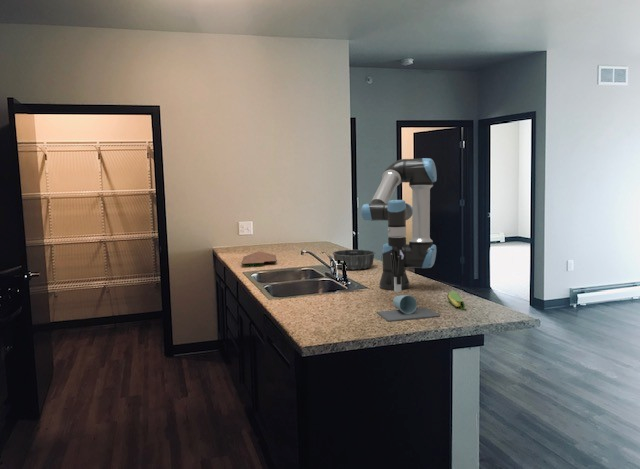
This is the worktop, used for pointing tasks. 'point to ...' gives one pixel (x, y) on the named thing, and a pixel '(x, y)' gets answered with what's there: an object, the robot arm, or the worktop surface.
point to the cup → (405, 303)
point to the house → (258, 258)
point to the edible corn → (456, 300)
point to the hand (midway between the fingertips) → (397, 291)
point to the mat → (399, 315)
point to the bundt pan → (355, 258)
